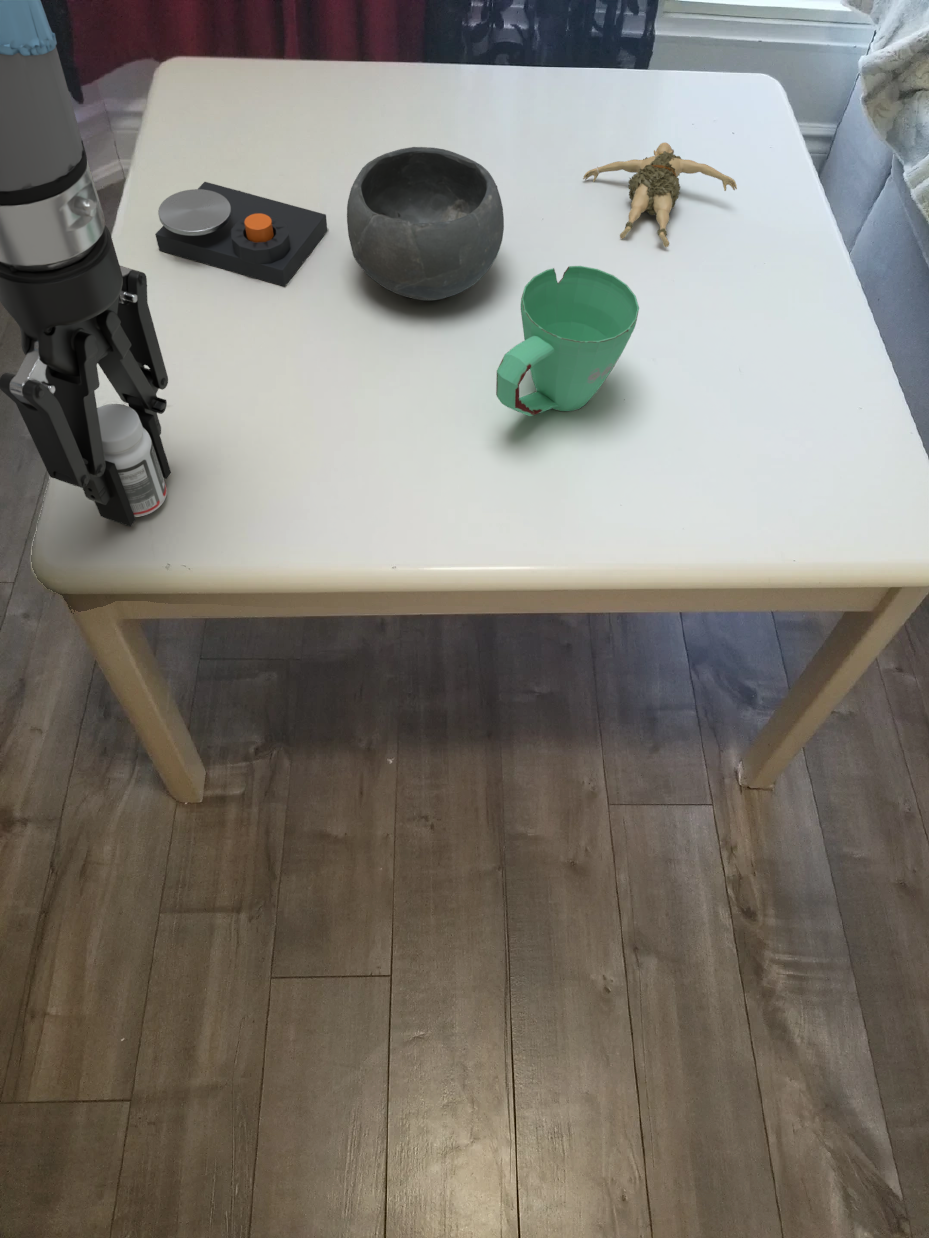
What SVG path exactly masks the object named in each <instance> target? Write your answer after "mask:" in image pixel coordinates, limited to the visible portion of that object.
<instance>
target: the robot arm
mask: <svg viewBox="0 0 929 1238" xmlns="http://www.w3.org/2000/svg"><path fill="white" fill-rule="evenodd" d="M57 44H58V42H57V38H56V33H55V32H53V31H52V28H51V26H50V24H49V21H48V18H47V14H46V12H45V9H44V6H43V4H42V1H41V0H0V303H1V305H2V307H3V308H4V310H6V312H7V313H8V314H9V315H10V316H11V318H13V320H14V321H15V322H16V324H17V325H18V327H19V331H20V344H21V345H20V346H21V349H22V352H23V353H24V355H25V357H24V359H23V360H22V363H21V365H20V366H19V369H18V370H17V371H16V374H13V373H10V372H4V373H2V375H1V376H0V391H2V393H4V394H5V395H6V396H7V397H8V398H9V399H10V400H12V401H13V402H14V403H15V405H16V407H17V409H18V411H19V413H20V415H21V418H22V420H23V422H24V424H25V427H26V428H27V431H28V432H29V435H30V437H31V439H32V441H33V444H34V445H35V448H36V450H37V452H38V454H39V456H40V458H41V460H42V462H43V465H44V468H45V469H46V471H47V473H48V476H49V477H50V478H52V479H55V480H57V481H59V482H63V483H66V484H69V485H72V486H75V487H78V488H81V489H82V491H83V494H84V495H85V497H86V498H87V499H88V500H90V501H93V502H94V504H95V507H96V509H97V511H98V514H99V516H100V517H101V518H104V519H107V520H110V521H113V522H114V523H115V522H116V523H119V524H121V525H124V526H127V527H129V528H131V527H132V526H133V525H134V523H135V522H136V520H137V519H136V517H135V516H134V514H133V511H132V508H131V506H130V503H129V500H128V498H127V495H126V492H125V490H124V487H123V484H122V482H121V479H120V476H119V474H118V471H117V468H116V466H115V463H112V462H109V461H106V460H105V457H104V451H103V444H102V438H101V431H100V425H99V418H98V412H97V408H98V405H97V400H96V392H95V391H96V390H98V389H99V388H100V378H99V377H100V376H99V372H98V366H99V368H100V370H101V371H102V372H103V374H104V375H105V377H106V378H107V380H108V382H109V383H110V384H111V386H112V387H113V389H114V391H115V392H116V394H117V395H118V396H119V398H120V401H122V402H123V403H126V404H128V405H127V406H129V407H131V408H132V409H134V410H135V411H136V413H137V414H138V416H139V419H140V421H141V424H142V427H143V428H144V429H145V430H146V431H147V432H148V434H149V435H150V438H151V440H152V444H153V447H154V450H155V453H156V456H157V459H158V462H159V465H160V468H161V472H162V475H163V478H164V480H167V479H168V478H169V477H170V476H171V474H172V471H171V468H170V464H169V461H168V457H167V454H166V450H165V448H164V444H163V441H162V439H161V438H162V437H161V435H162V426H161V425H162V424H161V421H160V419H159V415H162V414H164V413H165V411H166V409H167V405H168V402H167V399H165V398H161V397H158V396H157V393H158V392H159V390H163V391H164V390H165V389H166V388H167V387H168V384H169V376H168V371H167V369H166V365H165V361H164V358H163V354H162V351H161V347H160V343H159V339H158V336H157V333H156V329H155V325H154V320H153V317H152V314H151V310H150V307H149V302H148V278H147V275H146V273H145V272H143V271H140V270H136V269H132V268H130V267H126V266H123V265H121V264H120V262H119V260H118V255H117V252H116V249H115V248H116V247H115V245H114V242H113V238H112V235H111V232H110V230H109V228H108V227H107V225H106V219H105V216H104V211H103V207H102V204H101V201H100V197H99V194H98V191H97V188H96V183H95V181H94V177H93V174H92V170H91V167H90V163H89V161H88V160H89V159H88V157H87V152H86V149H85V145H84V142H83V138H82V134H81V131H80V127H79V125H78V124H79V123H78V120H77V117H76V113H75V110H74V109H75V108H74V105H73V102H72V99H71V95H70V91H69V88H68V84H67V81H66V77H65V73H64V69H63V66H62V63H61V60H60V56H59V52H58V48H57ZM145 366H147V367H148V368H147V367H145ZM158 414H159V415H158Z"/></svg>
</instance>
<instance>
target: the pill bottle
mask: <svg viewBox="0 0 929 1238" xmlns="http://www.w3.org/2000/svg"><path fill="white" fill-rule="evenodd" d="M97 412H98V418H99V425H100V431H101V438H102V444H103V451H104V457H105V460H106V461H109V462H112V463H115V466H116V468H117V471H118V474H119V476H120V479H121V482H122V484H123V487H124V490H125V492H126V495H127V498H128V500H129V503H130V506H131V508H132V511H133V514H134V516H135V518H138V517H143V516H147V515H150V514H152V513H154V512H155V511H157V510H158V509H159V508H160V507H161V506H162V505H163V504H164V502H165V500H166V498H167V494H168V489H167V488H168V487H167V484H166V482H165V478H163V475H162V472H161V468H160V465H159V462H158V459H157V456H156V453H155V450H154V447H153V444H152V440H151V438H150V435H149V434H148V432H147V431H146V430H145V429H144V428H143V427H142V424H141V421H140V419H139V416H138V414H137V413H136V411H135V410H134V409H132V408H131V407H129V405H126V404H122V403H108V404H104V405H101V406H97Z"/></svg>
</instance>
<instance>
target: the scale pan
mask: <svg viewBox="0 0 929 1238" xmlns="http://www.w3.org/2000/svg"><path fill="white" fill-rule="evenodd" d="M157 211H158V212H157V215H158V218H159V221H160V224H161V225H162V226H164V227H165V228H167V229H168V230H170V231H172V232H174V233H177V234H181V235H188V236H197V235H205V234H209V233H212V232H215V231H217V230H219V229H221V228H222V227H224V226H225V225H226V224H227V223H228V221H229V220H230V218H231V214H232V211H231V206H230V203H229V201H228V200H227V199H226V198H225V197H224V196H222V195H221V194H219V193H216V192H213V191H210V190H203V189H198V188H193V189H187V190H182V191H181V190H180V191H178V192H176V193H173V194H171V195H169V196H168V197H166V198H165V199H164V200H163V201H162V202H161V204H159V207H158V209H157Z"/></svg>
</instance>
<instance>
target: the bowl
mask: <svg viewBox="0 0 929 1238" xmlns="http://www.w3.org/2000/svg"><path fill="white" fill-rule="evenodd" d="M346 222H347V223H346V224H347V235H348V239H349V244H350V249H351V251H352V252H351V253H352V255H353V258H354V260H355V261H356V263H357V264H358V265H359V267H360V268H361V269H362V271H364V273H365V274H366V275H367V276H369V277H370V278H371V279H372V280H373V281H374V282H376V283H377V284H379V285H380V286H381V287H383V288H385V289H386V290H388V291H391V292H392V293H395V294H397V295H399V296H402V297H405V298H410V299H413V300H417V301H418V300H419V301H438V300H443V299H445V298H449V297H453V296H455V295H458V294H460V293H462V292H464V291H466V290H468V289H469V288H471V287H472V286H474V285H475V284H476V283H477V282H479V281H480V280H481V278H483V276H485V274H487V272H488V271H489V269H490V268H491V267H492V265H493V263H494V262H495V260H496V258H497V257H498V254H499V251H500V249H501V246H502V242H503V238H504V230H505V219H504V207H503V203H502V198H501V195H500V192H499V188H498V186H497V183H496V181H495V180H494V178H493V175H492V174H491V173H490V172H489V171H488V169H486V168H485V167H484V166H483V165H482V164H480V163H478V162H476V161H475V160H473V159H470V158H469V157H467V156H464V155H461V154H459V153H456V152H454V151H451V150H448V149H444V148H438V147H428V146H410V147H404V148H400V149H396V150H393V151H389V152H386V153H383V154H381V155H379V156H377V157H375V158H373V159H372V160H370V161H368V162H367V163H366V164H364V166H363V167H362V168H361V170H360V171H359V172H358V174H357V175H356V178H355V179H354V181H353V184H352V186H351V187H350V191H349V195H348V199H347V204H346Z"/></svg>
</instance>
